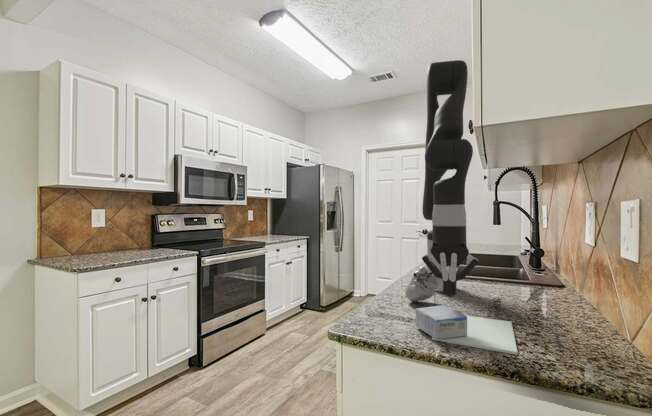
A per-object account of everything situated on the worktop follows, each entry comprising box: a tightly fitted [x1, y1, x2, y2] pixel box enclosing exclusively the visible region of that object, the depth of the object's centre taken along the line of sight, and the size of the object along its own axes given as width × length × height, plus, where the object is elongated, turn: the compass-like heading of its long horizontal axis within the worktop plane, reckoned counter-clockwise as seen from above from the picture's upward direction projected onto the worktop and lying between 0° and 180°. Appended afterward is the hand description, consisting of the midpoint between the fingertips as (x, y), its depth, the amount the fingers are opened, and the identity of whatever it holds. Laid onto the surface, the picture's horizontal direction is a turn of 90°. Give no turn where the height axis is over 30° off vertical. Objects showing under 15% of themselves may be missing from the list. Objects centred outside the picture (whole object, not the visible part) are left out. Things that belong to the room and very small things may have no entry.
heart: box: [405, 266, 439, 305], centre depth 93 cm, size 10×10×12 cm
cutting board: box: [431, 314, 519, 356], centre depth 72 cm, size 18×16×1 cm
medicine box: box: [415, 304, 468, 341], centre depth 71 cm, size 8×4×9 cm
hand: (449, 296), depth 75 cm, fingers closed
